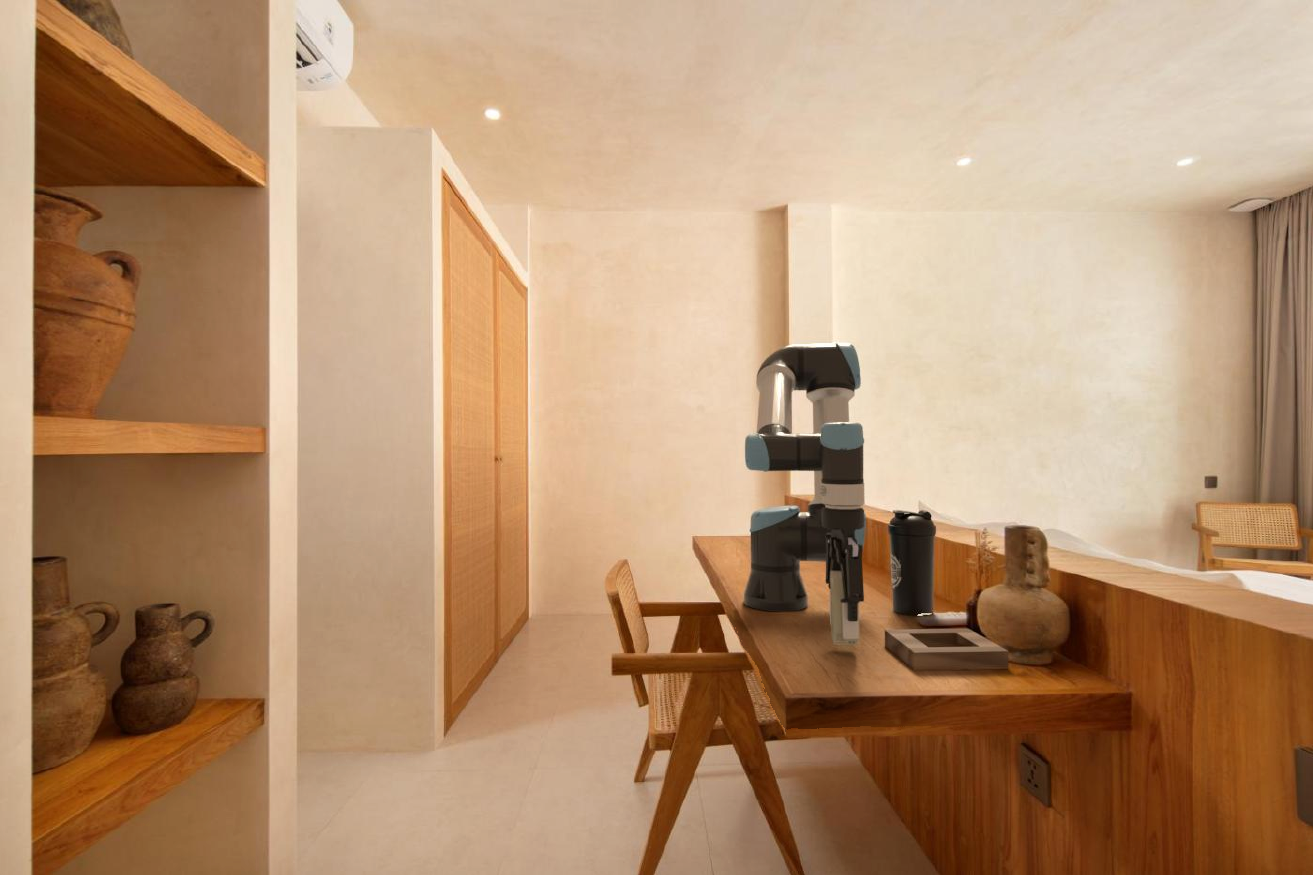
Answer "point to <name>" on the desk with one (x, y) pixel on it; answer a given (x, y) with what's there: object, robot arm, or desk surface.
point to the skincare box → (838, 610)
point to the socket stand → (945, 649)
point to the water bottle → (912, 562)
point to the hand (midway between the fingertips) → (844, 631)
